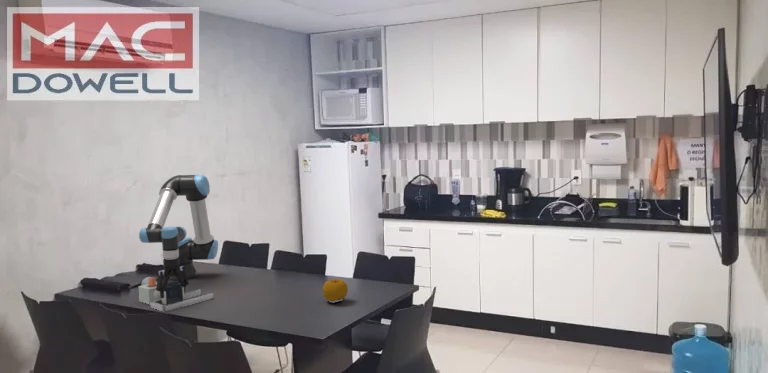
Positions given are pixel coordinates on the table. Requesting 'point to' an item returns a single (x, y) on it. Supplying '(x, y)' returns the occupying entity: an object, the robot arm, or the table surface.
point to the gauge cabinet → (148, 294)
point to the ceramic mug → (145, 281)
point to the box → (173, 292)
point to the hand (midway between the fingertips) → (173, 301)
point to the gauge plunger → (152, 282)
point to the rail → (162, 307)
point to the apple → (335, 290)
